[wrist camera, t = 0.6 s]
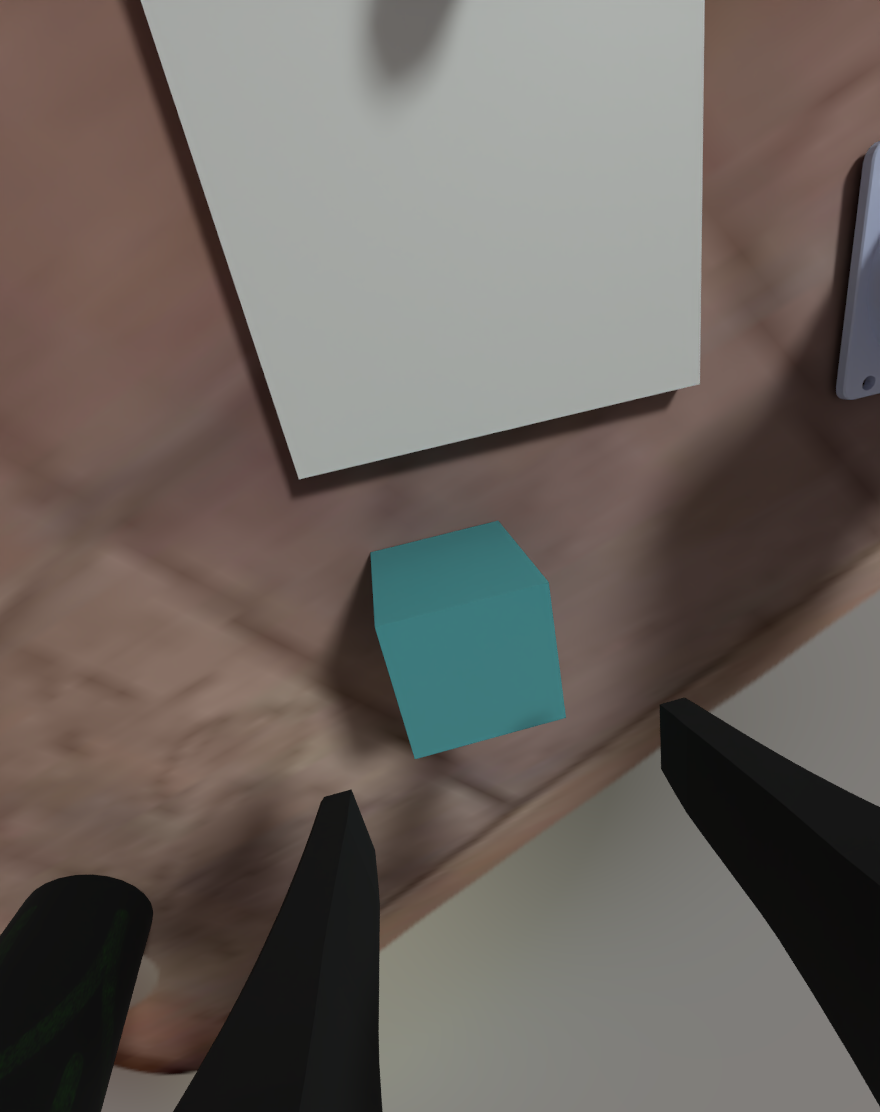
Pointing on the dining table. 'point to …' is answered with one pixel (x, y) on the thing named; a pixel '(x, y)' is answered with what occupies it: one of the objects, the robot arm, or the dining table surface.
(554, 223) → the post board
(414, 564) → the turquoise box
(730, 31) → the dining table surface
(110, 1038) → the cup
